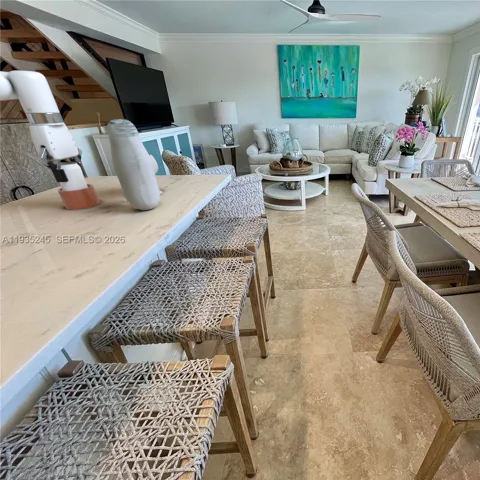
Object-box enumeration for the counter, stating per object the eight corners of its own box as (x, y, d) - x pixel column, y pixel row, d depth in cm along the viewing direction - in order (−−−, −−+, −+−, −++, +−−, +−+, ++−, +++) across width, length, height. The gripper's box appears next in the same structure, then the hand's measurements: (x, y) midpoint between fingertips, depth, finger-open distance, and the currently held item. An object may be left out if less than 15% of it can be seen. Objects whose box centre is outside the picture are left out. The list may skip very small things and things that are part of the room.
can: (72, 197, 92) (57, 162, 87) (94, 196, 94) (82, 161, 89) (63, 202, 86) (47, 165, 81) (87, 201, 88) (73, 164, 83)
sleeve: (75, 213, 86) (66, 193, 83) (61, 209, 90) (51, 189, 87) (106, 205, 94) (98, 185, 90) (92, 201, 97) (84, 182, 94)
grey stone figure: (169, 206, 92) (145, 118, 79) (138, 216, 84) (106, 120, 71) (154, 201, 97) (129, 117, 84) (124, 210, 89) (91, 119, 76)
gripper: (56, 118, 87) (79, 173, 95) (3, 121, 71) (36, 186, 79) (80, 118, 87) (101, 172, 95) (32, 121, 72) (62, 186, 80)
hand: (71, 178), depth 87 cm, fingers closed on can, 6 cm apart
